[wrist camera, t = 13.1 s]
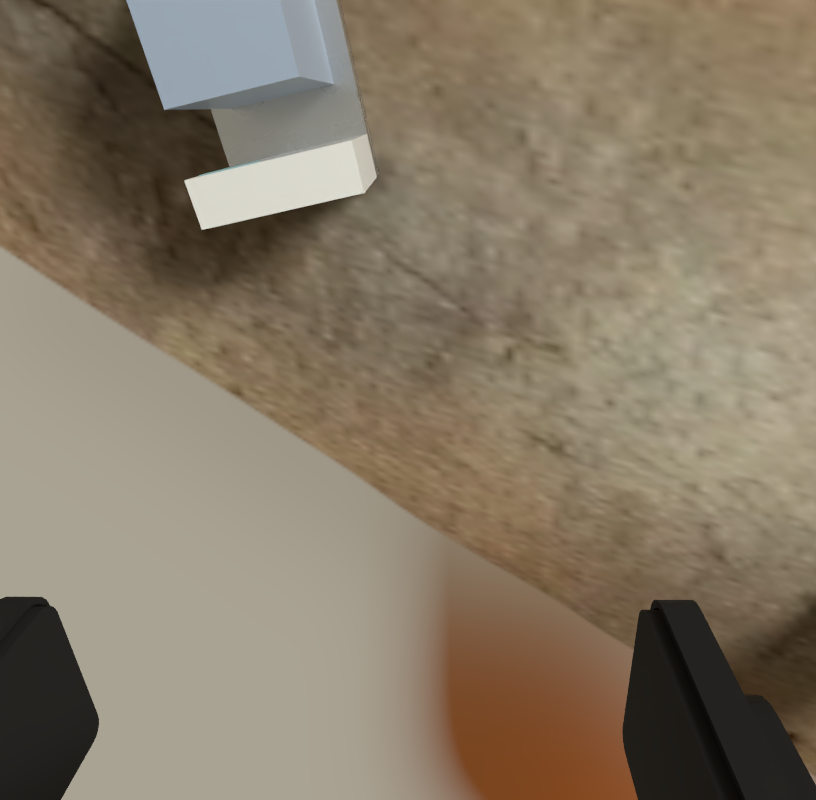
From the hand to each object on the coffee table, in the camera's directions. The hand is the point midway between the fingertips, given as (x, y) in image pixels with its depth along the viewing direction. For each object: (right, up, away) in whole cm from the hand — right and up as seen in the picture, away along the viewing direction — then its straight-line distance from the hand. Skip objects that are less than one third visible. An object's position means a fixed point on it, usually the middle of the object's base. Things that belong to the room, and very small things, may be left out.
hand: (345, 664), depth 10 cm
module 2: (-4, +16, +20) cm, 26 cm away
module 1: (-6, +22, +17) cm, 28 cm away
